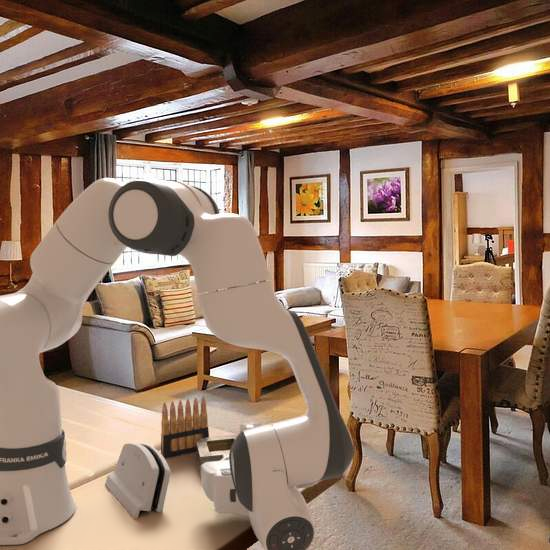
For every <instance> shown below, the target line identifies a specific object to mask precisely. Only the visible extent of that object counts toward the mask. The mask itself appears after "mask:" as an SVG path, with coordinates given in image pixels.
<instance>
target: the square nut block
mask: <svg viewBox="0 0 550 550" xmlns="http://www.w3.org/2000/svg"><path fill="white" fill-rule="evenodd" d="M237 436H238V434H229V435H219V436H209V437H207V438H201V437H200V438H197V439H196V452H195V458H196V462H197V466H198V471H199V475H200V476H201V465H202V464H203V463H205V462H212V461H220V460H221V459H222V458H223V454H229V453H230V449H231V447H232V445H233V443H234V441H235V439H236V437H237Z"/></svg>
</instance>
